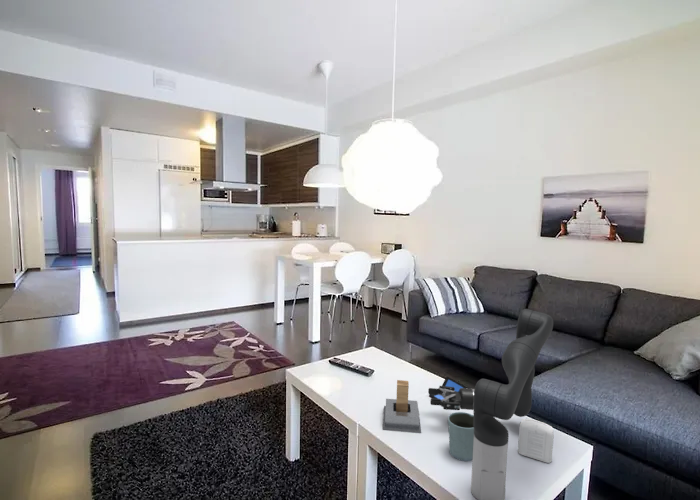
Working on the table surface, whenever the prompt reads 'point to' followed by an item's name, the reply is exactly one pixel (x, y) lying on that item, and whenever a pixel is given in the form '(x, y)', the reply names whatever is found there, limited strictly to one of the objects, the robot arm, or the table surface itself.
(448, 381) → the handheld game console
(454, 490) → the table surface
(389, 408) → the metal socket
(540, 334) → the robot arm
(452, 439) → the teal cup
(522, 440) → the photo printer
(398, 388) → the oak pin
